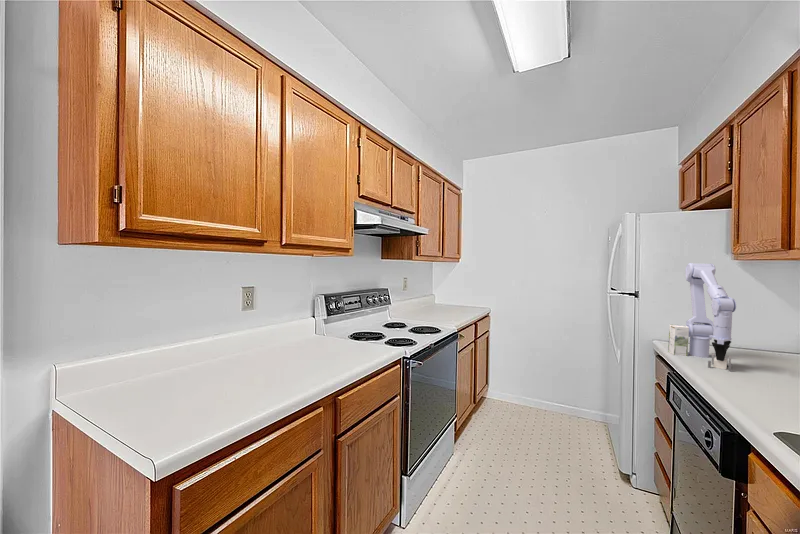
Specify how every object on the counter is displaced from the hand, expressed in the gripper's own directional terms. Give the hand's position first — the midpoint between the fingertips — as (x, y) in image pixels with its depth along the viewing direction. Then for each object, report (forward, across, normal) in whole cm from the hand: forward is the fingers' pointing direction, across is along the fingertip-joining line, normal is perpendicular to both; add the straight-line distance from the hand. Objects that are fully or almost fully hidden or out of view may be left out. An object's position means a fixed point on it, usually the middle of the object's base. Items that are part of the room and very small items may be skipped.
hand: (720, 358), depth 155 cm
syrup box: (+4, -12, -16) cm, 20 cm away
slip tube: (+3, 0, 0) cm, 3 cm away
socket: (+4, +5, 0) cm, 6 cm away
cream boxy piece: (+4, -3, 0) cm, 5 cm away
